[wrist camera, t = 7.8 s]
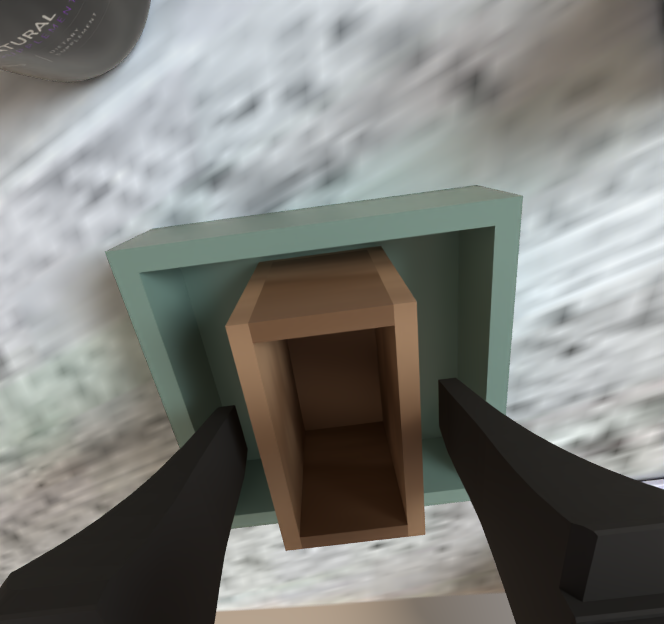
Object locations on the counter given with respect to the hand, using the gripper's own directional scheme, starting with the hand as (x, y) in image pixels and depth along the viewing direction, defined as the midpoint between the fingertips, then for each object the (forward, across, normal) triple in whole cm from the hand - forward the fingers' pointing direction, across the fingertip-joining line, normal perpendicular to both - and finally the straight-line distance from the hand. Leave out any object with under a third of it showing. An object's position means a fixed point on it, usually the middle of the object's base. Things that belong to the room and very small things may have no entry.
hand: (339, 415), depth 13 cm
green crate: (+5, 0, 0) cm, 5 cm away
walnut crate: (+4, 0, 0) cm, 4 cm away
